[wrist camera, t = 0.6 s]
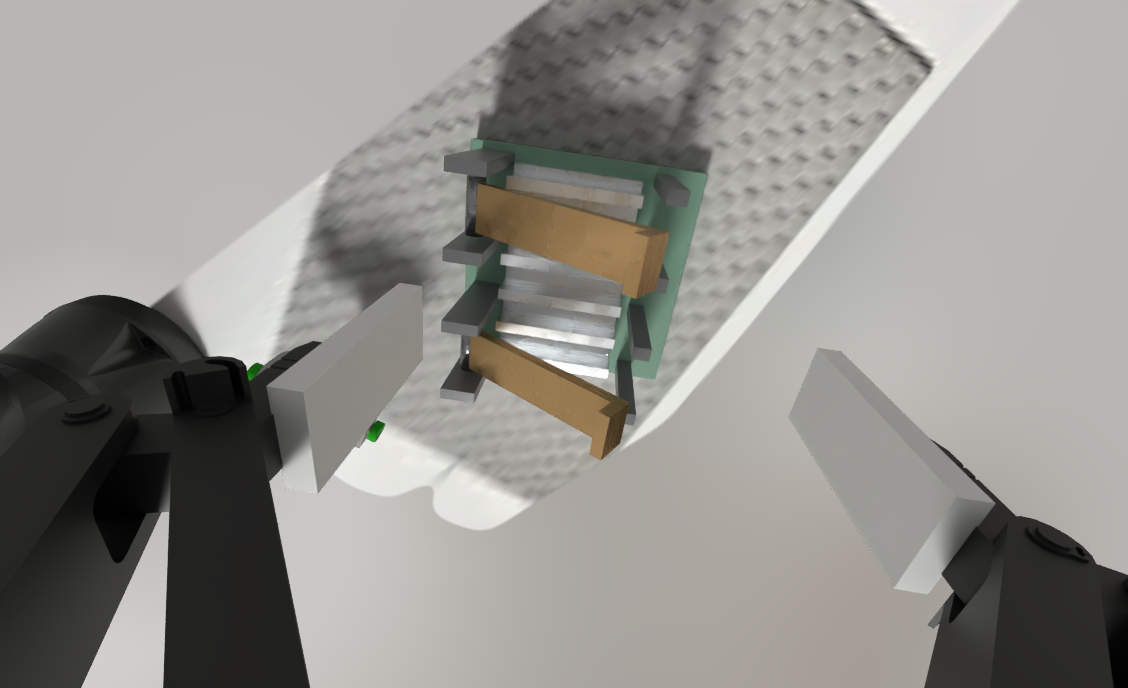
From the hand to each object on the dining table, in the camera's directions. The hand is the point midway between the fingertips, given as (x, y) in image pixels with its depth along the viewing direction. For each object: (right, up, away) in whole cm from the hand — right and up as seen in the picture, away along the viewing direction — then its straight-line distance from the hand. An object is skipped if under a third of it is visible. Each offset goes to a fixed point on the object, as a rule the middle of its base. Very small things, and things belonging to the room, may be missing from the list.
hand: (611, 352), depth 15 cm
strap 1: (-2, +7, +11) cm, 13 cm away
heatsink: (-1, +6, +21) cm, 22 cm away
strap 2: (-3, -2, +16) cm, 16 cm away
